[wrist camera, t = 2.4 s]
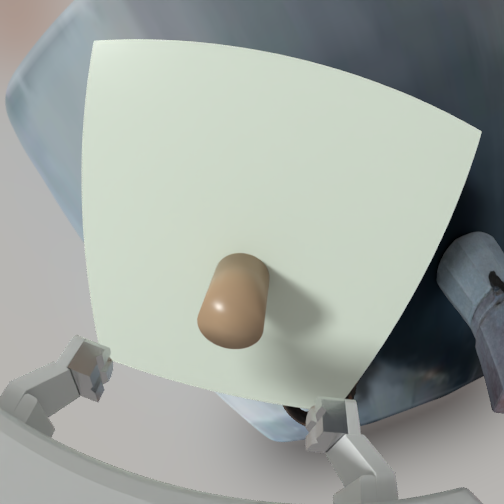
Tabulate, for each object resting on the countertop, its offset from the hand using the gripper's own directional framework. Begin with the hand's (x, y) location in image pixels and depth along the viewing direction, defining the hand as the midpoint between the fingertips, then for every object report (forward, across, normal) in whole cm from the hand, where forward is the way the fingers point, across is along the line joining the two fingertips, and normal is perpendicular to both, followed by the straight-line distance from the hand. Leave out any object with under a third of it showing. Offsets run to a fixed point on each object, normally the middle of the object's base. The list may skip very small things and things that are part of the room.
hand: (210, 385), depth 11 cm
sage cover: (+20, 0, 0) cm, 20 cm away
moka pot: (+20, -24, +1) cm, 32 cm away
